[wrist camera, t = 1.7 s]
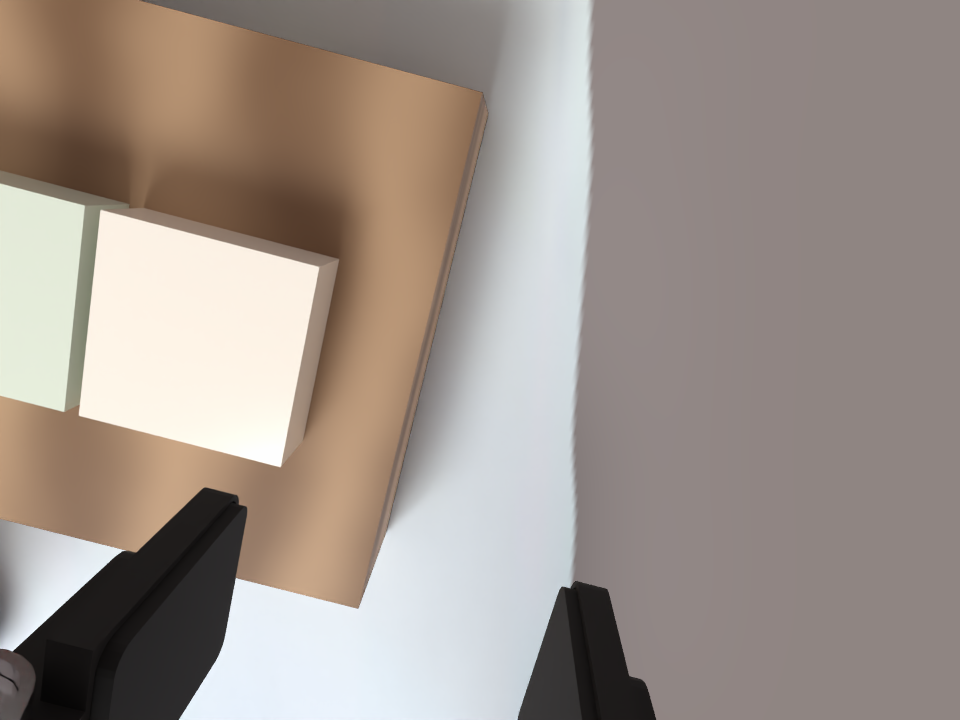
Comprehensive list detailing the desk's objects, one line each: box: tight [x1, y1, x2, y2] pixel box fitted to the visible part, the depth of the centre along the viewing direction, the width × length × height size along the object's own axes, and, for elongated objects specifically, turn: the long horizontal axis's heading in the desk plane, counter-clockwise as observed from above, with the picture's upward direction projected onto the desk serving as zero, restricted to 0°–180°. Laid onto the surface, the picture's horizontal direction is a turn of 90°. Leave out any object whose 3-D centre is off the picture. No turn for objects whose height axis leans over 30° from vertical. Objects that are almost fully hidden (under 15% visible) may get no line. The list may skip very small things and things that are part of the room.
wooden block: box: [0, 0, 488, 609], centre depth 27 cm, size 24×20×6 cm
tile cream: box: [79, 208, 339, 467], centre depth 23 cm, size 7×7×2 cm
